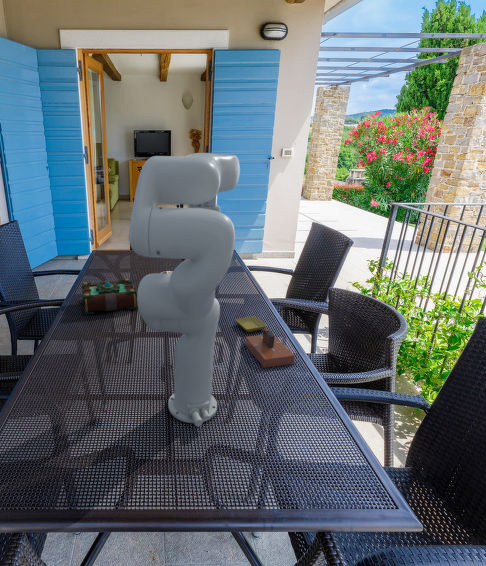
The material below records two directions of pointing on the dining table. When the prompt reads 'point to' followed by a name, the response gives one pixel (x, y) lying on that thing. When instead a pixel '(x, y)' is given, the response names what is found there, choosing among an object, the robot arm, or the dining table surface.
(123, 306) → the book
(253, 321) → the yellow square tray
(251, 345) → the panel
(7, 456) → the dining table surface
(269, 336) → the black block red end
